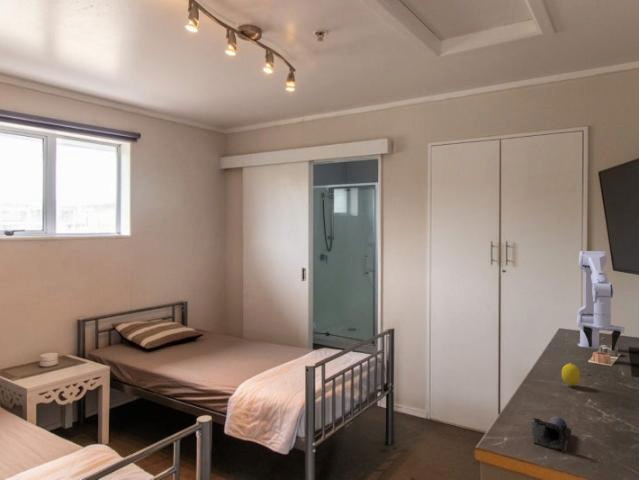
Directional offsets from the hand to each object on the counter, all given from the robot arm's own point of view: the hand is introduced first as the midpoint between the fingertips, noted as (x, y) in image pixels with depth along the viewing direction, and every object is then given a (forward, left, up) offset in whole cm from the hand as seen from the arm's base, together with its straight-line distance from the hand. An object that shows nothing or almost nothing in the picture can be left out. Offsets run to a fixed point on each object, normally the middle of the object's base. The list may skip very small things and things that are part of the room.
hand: (601, 348), depth 179 cm
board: (-6, +2, -7) cm, 9 cm away
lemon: (+31, -15, -7) cm, 35 cm away
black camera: (+77, -24, -7) cm, 81 cm away
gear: (0, 0, -5) cm, 5 cm away
